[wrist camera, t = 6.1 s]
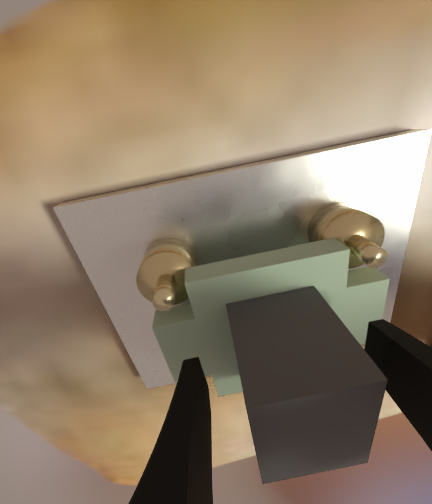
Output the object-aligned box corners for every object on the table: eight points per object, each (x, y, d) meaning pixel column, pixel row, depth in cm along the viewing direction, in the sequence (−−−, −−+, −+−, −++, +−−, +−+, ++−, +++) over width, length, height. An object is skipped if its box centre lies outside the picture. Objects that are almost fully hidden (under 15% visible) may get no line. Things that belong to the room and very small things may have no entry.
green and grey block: (377, 228, 11) (535, 313, 6) (360, 347, 15) (448, 462, 10) (142, 277, 11) (100, 403, 6) (184, 383, 15) (181, 517, 10)
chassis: (413, 129, 12) (524, 129, 8) (377, 329, 19) (428, 384, 15) (62, 202, 12) (-1, 238, 8) (149, 376, 19) (137, 444, 15)
